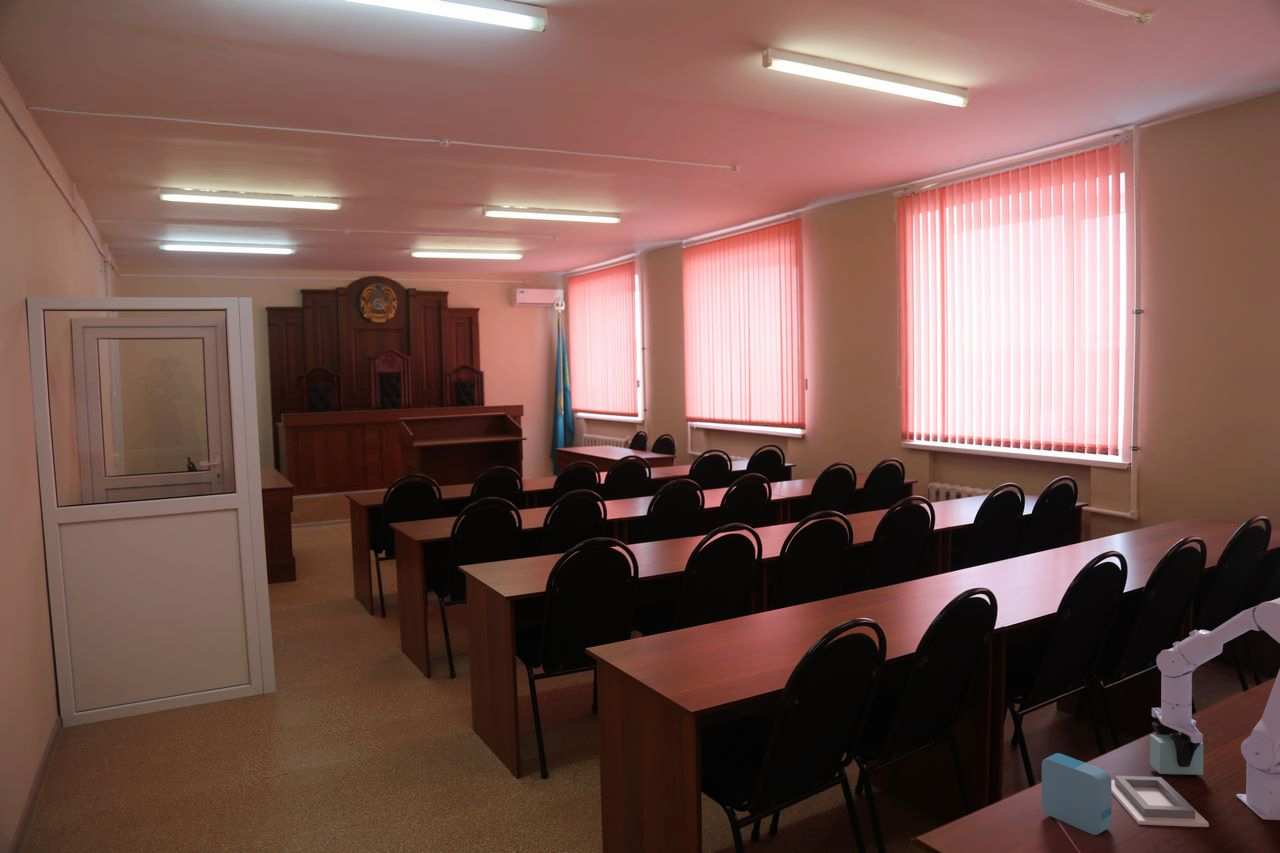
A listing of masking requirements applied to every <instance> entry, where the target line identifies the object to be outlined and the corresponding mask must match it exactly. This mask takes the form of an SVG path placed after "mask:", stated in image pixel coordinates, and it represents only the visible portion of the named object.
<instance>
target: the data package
mask: <svg viewBox="0 0 1280 853" xmlns="http://www.w3.org/2000/svg"><path fill="white" fill-rule="evenodd" d="M1111 780H1112V776H1111V775H1110V773H1109V772H1108V771H1106V769H1104V768H1100V767H1098V766H1095V765H1093V764H1089V763H1087V762H1085V761H1082V760H1078V759H1076V758H1074V757H1071V756H1068V755H1065V754H1062V753H1061V752H1060V753H1059V752H1057V753H1054V754H1052V755H1049V756H1048V757H1046V758H1044V759H1043V760H1042V762H1041V808H1042V810H1043V811H1044V813H1045V814H1046V815H1047V816H1048V817H1051V818H1054V819H1056V820H1059V821H1060V822H1062V823H1066V824H1067V825H1070V826H1072V827H1074V828H1077V829H1078V830H1081V831H1083V832H1085V833H1088V834H1090V835H1092V836H1098V835H1100V834H1101V833H1103V832H1104V831H1106V830H1108V829H1109V828H1111V826H1112V793H1111Z"/></svg>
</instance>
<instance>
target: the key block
mask: <svg viewBox="0 0 1280 853" xmlns="http://www.w3.org/2000/svg"><path fill="white" fill-rule="evenodd" d="M1171 735H1181V732H1179V731H1178V732H1170V735H1157V734H1153V733H1152V734H1151V733H1150V734H1149V765H1150V766H1151V767H1152V768H1153V769H1154V770H1155V771H1156V772H1157V773H1159V774H1160V775H1200V776H1201V775H1204V742H1203V743H1201V744H1200V745H1199V746H1198V748H1197V749H1196V751H1195V753H1194V755H1193V758H1192V761H1191V764H1190V767H1180V766H1179V765H1178V761H1177V751H1176V747H1175V744H1174V741H1173V739H1172V737H1171Z"/></svg>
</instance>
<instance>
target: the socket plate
mask: <svg viewBox="0 0 1280 853" xmlns="http://www.w3.org/2000/svg"><path fill="white" fill-rule="evenodd" d="M1111 795H1113V796H1114V797H1115V799H1116V800H1117V801H1118V803H1120V804H1121V805H1122V807H1123V808H1124V809H1125V810H1126V811H1127V813H1128V814H1129V815H1130V816H1131V818H1132V819H1134V821H1135V822H1136V823H1137V825H1141V826H1142V825H1144V826H1145V825H1146V826H1148V825H1149V826H1150V825H1151V826H1169V827H1170V826H1171V827H1172V826H1173V827H1191V828H1192V827H1194V828H1195V827H1197V828H1198V827H1199V828H1209V827H1210V824H1209V822H1208V821H1207V820H1206V819H1205V818H1204V817H1203V816H1202V815H1201V814H1200V813H1199V812H1198V811H1197V810H1196V809H1195V808H1194V807H1193V806H1192V805H1191V804H1189V802H1188V801H1187V800H1186V799H1185V798H1183V796H1182V795H1181V794H1180V793H1179V792H1178V791H1177V790H1176V789H1175V788H1173V786H1172V785H1170V784H1169V783H1168V782H1167V781H1166V780H1165V779H1164V778H1163V777H1162V776H1138V775H1114V779H1111Z"/></svg>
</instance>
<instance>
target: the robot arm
mask: <svg viewBox="0 0 1280 853" xmlns="http://www.w3.org/2000/svg"><path fill="white" fill-rule="evenodd" d="M1252 630H1253V631H1257V632H1259V631H1264V632H1265V633H1267V634H1268V635H1269V636H1270V637H1271V638H1272V639H1273V640H1275V641H1276V642H1277V643H1279V644H1280V597H1278V598H1276V599H1273V600H1269V601H1264V602H1261V603H1260V604H1258V605H1255V606H1253V607H1250V608H1248V609H1244V610H1242V611H1241V612H1240V613H1237V614H1236V615H1235V616H1232V617H1231V618H1230V619H1228V620H1227V621H1225V622H1224V623H1222V624H1220V625H1219V626H1218V627H1216V628H1214V629H1213V630H1211V631H1210V630H1206V629H1200V630H1198V629H1194V630H1192V631H1190V632H1189V633H1188V634H1189V636H1188V637H1186V638H1184V639H1183V640H1182V641H1175V642H1173V643H1172V646H1173V647H1171V648H1169V649H1163V650H1161V651H1160V653H1159V654H1157V656H1156V658H1155V659H1156V660H1155V661H1156V667H1157V668H1158V670H1159V671H1160V672H1161V678H1160V679H1161V681H1160V683H1161V687H1160V689H1161V691H1160V692H1161V694H1160V695H1161V696H1160V698H1161V704H1160V706H1161V707H1151V716H1152V717H1153V718H1155V719H1156V718H1157V721H1152V722H1151V727H1152V728H1153V730H1154V732H1155V733H1156V735H1170V732H1179V733H1181V735H1171V737H1172V739H1173V741H1174V744H1175V747H1176V751H1177V761H1178V765H1179V766H1180V767H1190V764H1191V761H1192V758H1193V755H1194V753H1195V751H1196V749H1197V748H1198V746H1199V745H1200V744H1201V743H1203V744H1204V741H1203V740H1204V739H1203V737H1204V735H1203V734H1204V733H1202V732H1201V731H1199V729H1198V728H1197V727H1196V725H1197V720H1195V719H1193V718H1192V716H1193V715H1192V714H1193V712H1192V711H1193V710H1192V708H1193V707H1192V704H1193V703H1192V702H1193V701H1192V696H1193V691H1192V690H1193V687H1192V686H1193V682H1192V681H1193V680H1192V679H1193V672H1194V671H1195V670H1197V668H1198V667H1199V666H1201V665H1203V664H1204V663H1206V662H1208V661H1210V660H1211V659H1214V658H1215V657H1216V656H1217V657H1218V656H1219V655H1220V654H1222V653H1223V648H1224V644H1226V643H1227V642H1229V641H1232V640H1233V639H1235V638H1238V637H1239V636H1242V635H1243V634H1245V633H1247V632H1248V631H1252ZM1240 752H1241V756H1242V757H1243V758H1244V760H1245V761H1246V781H1245V782H1246V784H1245V785H1246V787H1245V793H1237V794H1235V795H1236V798H1238V799H1239V800H1240V802H1242V803H1243V804H1245V805H1246V806H1247V807H1248V808H1249V809H1250V810H1252V812H1254V813H1255V814H1256V815H1257V816H1259V817H1260V818H1261V819H1262V820H1269V821H1274V820H1275V821H1280V668H1279V670H1278V673H1277V675H1276V678H1275V681H1274V683H1273V686H1272V689H1271V692H1270V694H1269V698H1268V699H1267V702H1266V705H1265V708H1264V711H1263V713H1262V717H1261V719H1260V720H1259V721H1258V722H1257V723H1256V725H1255V726H1254V728H1253V729H1252V730H1251V734H1250V735H1249V736H1248V737H1246V738H1245V739H1244V740H1243V741H1242V742H1241V744H1240Z"/></svg>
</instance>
